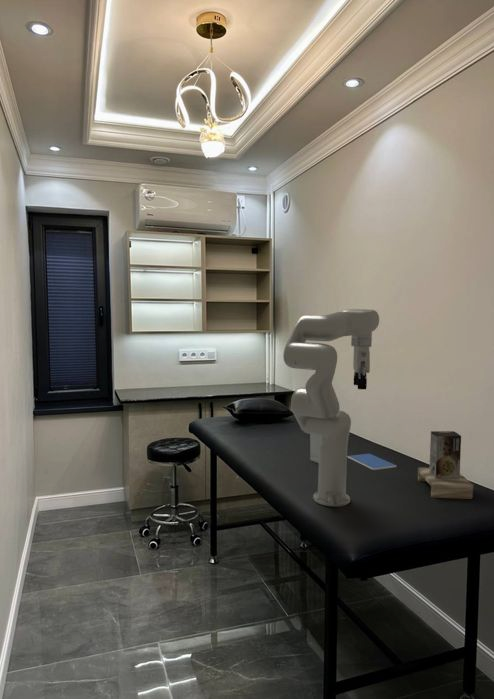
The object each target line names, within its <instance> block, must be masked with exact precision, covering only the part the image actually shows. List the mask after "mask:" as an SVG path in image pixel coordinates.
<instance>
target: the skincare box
mask: <svg viewBox="0 0 494 699" xmlns="http://www.w3.org/2000/svg"><path fill="white" fill-rule="evenodd" d="M309 438H310V441H309V442H310V446H309V447H310V451H309V452H310V453H309V454H310V455H309V456H310V458H309V459H310V461H312V462H314V463H317V464H319V449H320V446H321V445H322V444H323V443H324V442H325V440H326V439H327V438H326V437H324V436H320V435H313V434H309Z"/></svg>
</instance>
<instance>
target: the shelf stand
mask: <svg viewBox="0 0 494 699" xmlns="http://www.w3.org/2000/svg"><path fill="white" fill-rule="evenodd" d="M417 481H418V482H427V483H428V484H429V485H430V497H431V498H437V499H439V498H441V499H464V500H465V499H466V500H468V499H469V500H472V498H473V499H474V497H473V495H474V484H473V483H472V482H470V480H468V479H467V478H466V477H465V476H464V475H463V474H462V473H460V478H434V477H433V476H432V475H431V474H430V473H429V467H421V466H420V467H419V466H418V468H417Z"/></svg>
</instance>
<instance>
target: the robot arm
mask: <svg viewBox="0 0 494 699" xmlns="http://www.w3.org/2000/svg"><path fill="white" fill-rule="evenodd" d="M379 324H380V315H379V313H378V312H377V310H375V309H360V308H358V309H355V308H354V309H353V308H352V309H350V308H349V309H344V310H342V311H337V312H334V313H330V314H329V313H328V314H322V315H318V314H317V315H316V314H304V315H302V316H301V317H299V318H298V320H297V321H296V323H295V325H294V327H293V329H292V331H291V333H290V336H289V338H288V340H287V342H286V344H285V347H284V350H283V362H284V364H285V365H286V366H287V367H289V368H291V369H298V370H309V371H310V370H311V371H315V372H314V373H313V374H312V375H311V376H310V377H309V378H308V380H307V381H306V382H305V387H299V388H297V389H295V391H294V392H293V393H292V396H291V398H290V399H291V400H290V401H291V402H290V404H291V405H290V406H291V410H292V413H293V415H294V418H295V419H296V421H297V423H298V425H299V427H300V429H301V430H302V432H303V433H305V434H308V435H310V434H313V435H320V436H324V437H326V438H327V439H326V440H325V442H324V443H323V444H322V445H321V446H320V449H319V463H318V473H317V476H318V478H317V480H318V481H317V491H316V492H314V494H313V495H312V498H313V500H314V502H315V503H317V504H319V505H322V506H326V507H338V508H339V507H343V506H346V505H349V503H351V497H350V496H349V495H348V494H347V470H348V469H347V465H348V464H347V462H348V458H347V456H348V443H349V436H350V432H351V427H352V420H351V419H352V418H351V417H350V415H349V414H348V413H347V412H345V411H343V410H340V403H339V399H338V397H337V394H336V391H335V388H334V386H333V380H334V378H335V377H334V376H335V373H336V368H337V364H338V352H337V350H336V348H335V347H333V346H332V345H330V344H327V343H319V342H331V341H334V340H338V339H340V338H343V337H350V336H351V338H350V339H351V340H350V342H351V344H350V346H351V347H353V359H352V360H353V362H352V366H353V373H354V374H353V386H357V390H367V386H368V385H367V384H368V382H367V381H368V378H367V374H369V373H370V372H371V371H370V370H371V369H370V368H371V366H370V365H371V364H370V362H371V359H370V358H371V356H370V355H371V353H370V348H371V347H372V341H373V340H372V338H373V332H374V331H375V330H377V328H378V327H379ZM307 341H309V342H307ZM310 341H311V342H310Z"/></svg>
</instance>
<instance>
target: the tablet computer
mask: <svg viewBox="0 0 494 699" xmlns="http://www.w3.org/2000/svg"><path fill="white" fill-rule="evenodd" d="M347 459H350V460H351V461H354V462H356V463H357V464H360V465H362V466H364V467H366V468H368V469H369V470H372V471H379V470H386V469H393V468H397V465H396V464H394V463H392V462H389V461H388V460H385V459H383V458H380V457H378V456H376V455H374V454H372V453H363V454H362V453H361V454H353V455H347Z"/></svg>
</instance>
